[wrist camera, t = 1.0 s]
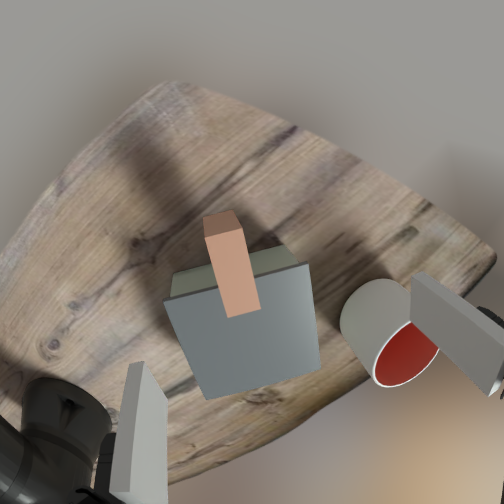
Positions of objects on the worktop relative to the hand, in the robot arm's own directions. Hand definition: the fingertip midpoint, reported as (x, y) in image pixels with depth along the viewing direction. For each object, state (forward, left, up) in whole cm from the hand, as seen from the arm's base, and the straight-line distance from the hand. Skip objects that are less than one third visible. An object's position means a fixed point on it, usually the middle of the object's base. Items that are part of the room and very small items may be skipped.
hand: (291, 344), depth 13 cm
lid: (-2, -6, -14) cm, 15 cm away
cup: (+14, -15, -19) cm, 28 cm away
